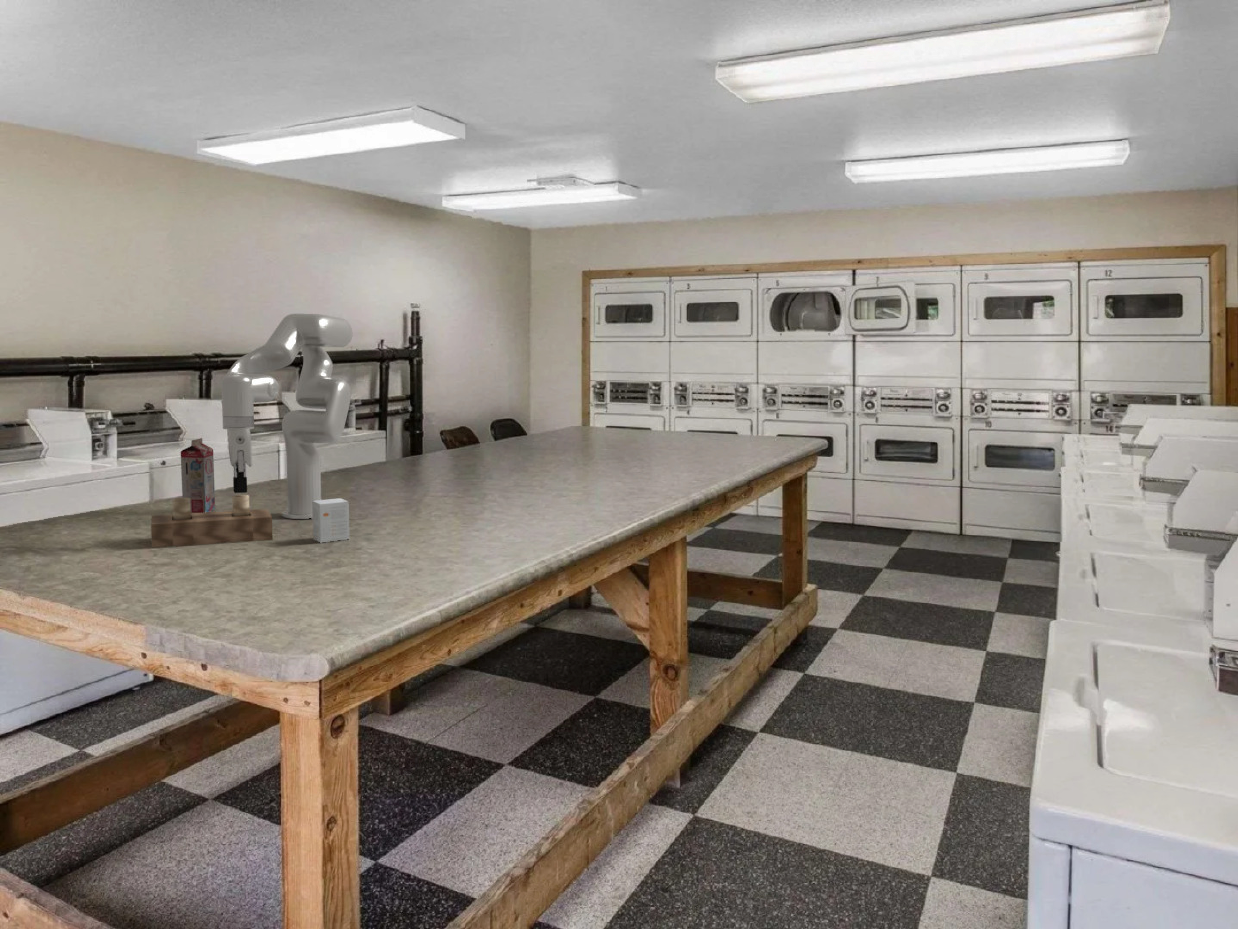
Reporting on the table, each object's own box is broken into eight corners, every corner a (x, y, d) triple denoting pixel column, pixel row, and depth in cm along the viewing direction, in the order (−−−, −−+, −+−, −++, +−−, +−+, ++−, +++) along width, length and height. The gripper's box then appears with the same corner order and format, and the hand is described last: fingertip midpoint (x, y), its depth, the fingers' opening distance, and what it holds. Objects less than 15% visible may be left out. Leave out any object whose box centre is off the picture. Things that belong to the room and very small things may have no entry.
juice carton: (215, 509, 265) (212, 438, 262) (205, 514, 258) (202, 440, 255) (193, 509, 265) (190, 437, 262) (183, 513, 258) (180, 440, 255)
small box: (341, 536, 235) (341, 497, 234) (349, 540, 231) (349, 501, 230) (312, 539, 230) (311, 500, 229) (319, 543, 226) (319, 503, 225)
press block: (267, 530, 239) (267, 509, 238) (272, 539, 229) (272, 517, 228) (152, 538, 226) (151, 515, 225) (151, 548, 216) (150, 524, 215)
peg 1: (190, 519, 226) (189, 497, 225) (191, 522, 223) (190, 499, 222) (173, 520, 224) (172, 498, 224) (173, 523, 221) (172, 500, 220)
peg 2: (248, 515, 233) (248, 494, 232) (250, 518, 229) (249, 496, 228) (232, 516, 231) (231, 495, 230) (233, 519, 227) (232, 497, 226)
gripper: (256, 425, 222) (258, 496, 224) (251, 420, 235) (253, 487, 237) (224, 425, 218) (226, 497, 221) (221, 420, 231) (223, 488, 234)
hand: (240, 492), depth 229 cm, fingers closed
